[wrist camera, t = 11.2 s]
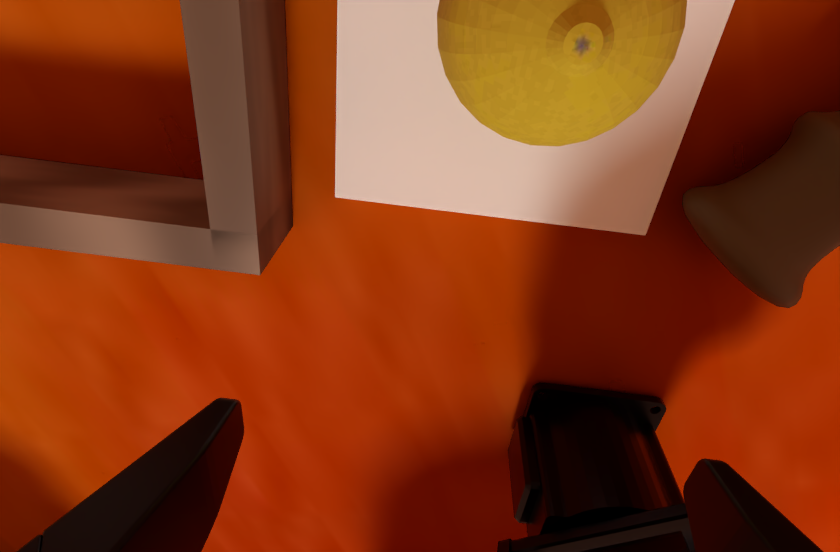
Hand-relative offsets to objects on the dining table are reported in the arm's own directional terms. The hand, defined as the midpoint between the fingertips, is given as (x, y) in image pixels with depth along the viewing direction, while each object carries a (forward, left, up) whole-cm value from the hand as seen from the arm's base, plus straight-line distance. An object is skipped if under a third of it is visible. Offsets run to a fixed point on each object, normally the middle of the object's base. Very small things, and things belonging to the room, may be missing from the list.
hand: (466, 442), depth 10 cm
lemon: (-1, -7, -11) cm, 13 cm away
